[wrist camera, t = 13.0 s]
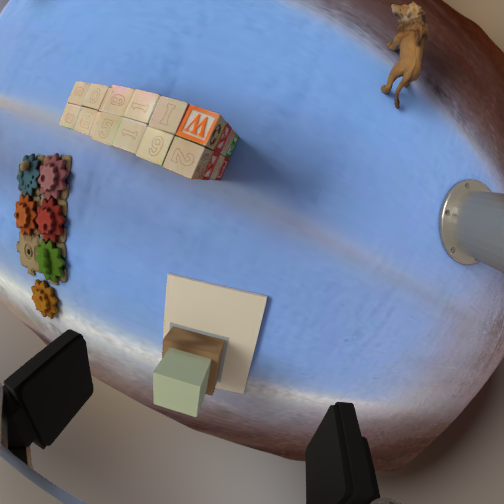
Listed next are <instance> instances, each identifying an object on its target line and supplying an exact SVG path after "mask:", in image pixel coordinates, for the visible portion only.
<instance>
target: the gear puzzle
mask: <svg viewBox="0 0 504 504" xmlns="http://www.w3.org/2000/svg"><path fill="white" fill-rule="evenodd" d="M35 158H36V159H37V160H36V159H35ZM71 163H72V157H71V156H68V155H62V156H61V160H60V157H59V154H58V153H56V154H55V155H47V156H46V157H45V156H44V155H38V156H37V157H35V154H31V155H30V156H27V155H25V156H24V157H23V162H22V163H21V164H19V171H18V175H17V180H18V181H19V187H18V189H19V190H20V192H21V193H22V194H21V195H20V198H19V202H16V212H15V214H14V216H15V218H16V223H17V228H19V229H20V230H21V231H20V232H19V242H17V252H20V260H21V265H22V266H25V267H27V268H28V273H29V274H31V275H33V276H34V275H35V271H37V272H41V273H42V274H44V276H45V278H46V280H49V279H50V283H52V284H54V285H58V284H59V283H58V280H60V281H62V282H65V281H67V269H66V268H65V269H63V268H62V266H64V265H65V263H66V262H65V261H64V260H63V259H62V257H64V258H65V257H66V245H65V243H64V242H65V241H66V228H62V224H64V222H65V221H66V219H65V218H64V217H63V216H62V214H63V215H64V216H67V201H66V199H67V197H68V192H69V184H66V183H65V179H66V178H67V177H68V175H69V172H68V171H71ZM41 194H42V196H43V197H42V198H41V197H40V195H41ZM39 235H41V236H42V237H41V238H40V236H39ZM29 249H30V252H29ZM46 280H43V281H42V282H40V281H39V280H38V279H37V280H36V281H35V286H32V287H31V289H32V292H33V296H32V300H33V301H34V303H35V305H36V309H37V310H39V311H40V312H41V313H42V315H43V317H46V316H48V317H50V318H51V319H52V318H54V313H57V312H58V309H57V307H56V305H55V304H56V303H57V302H58V299H57V298H56V297H55V296H53V287H48V286H47V282H46Z"/></svg>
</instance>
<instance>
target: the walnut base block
mask: <svg viewBox="0 0 504 504" xmlns="http://www.w3.org/2000/svg"><path fill="white" fill-rule="evenodd" d="M224 342H225V340H223V339H219V338H215V337H211V336H207V335H203V334H200V333H196V332H192V331H188V330H185V329H181V328H178V327H174V326H173V327H172V328H171V329H170V331H169V332H168V333H167V335H166V336H165V337H164V339H163V352H162V358H163V357H164V355H165V354H166V352H167V351H168V349H169V348H170V347H171V348H174V349H178V350H181V351H184V352H188V353H191V354H195V355H199V356H202V357H206V358H210V359H211V366H210V372H209V379H208V385H207V390H206V393H205V394H208V395H213V392H214V389H215V386H216V383H217V380H218V375H219V370H220V364H221V358H222V353H223V347H224Z"/></svg>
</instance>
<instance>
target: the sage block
mask: <svg viewBox="0 0 504 504" xmlns="http://www.w3.org/2000/svg"><path fill="white" fill-rule="evenodd" d="M210 366H211V359H210V358H206V357H202V356H199V355H195V354H191V353H188V352H184V351H181V350H178V349H174V348H171V347H170V348H169V349H168V351H167V352H166V354H165V355H164V357H163V358H162V360H161V361H160V363H159V364H158V366H157V367H156V369H155V370H154V372H153V389H154V404H156V405H159V406H162V407H165V408H168V409H171V410H174V411H178V412H181V413H184V414H188V415H191V416H194V417H197V415H198V412H199V409H200V407H201V404H202V401H203V399H204V396H205V393H206V390H207V385H208V379H209V372H210Z"/></svg>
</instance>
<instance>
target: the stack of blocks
mask: <svg viewBox="0 0 504 504" xmlns="http://www.w3.org/2000/svg"><path fill="white" fill-rule="evenodd" d="M59 125H60V126H63V127H67V128H70V129H73V130H75V131H77V132H80V133H83V134H86V135H89V136H92V138H91V139H93V140H95V141H98V142H101V143H104V144H107V145H110V146H114V147H117V148H120V149H123V150H126V151H128V152H131V153H134V154H136V156H137V157H140V158H143V159H145V160H148V161H150V162H153V163H155V164H157V165H160V166H163V167H164V168H166V169H168V170H171V171H173V172H175V173H178V174H180V175H182V176H185V177H187V178H190V179H201V180H211V179H212V180H220V179H221V177H222V175H223V173H224V170H225V168H226V166H227V164H228V162H229V159H230V156H231V154H232V152H233V150H234V148H235V146H236V144H237V141H238V139H239V136H238V135H237V134H236V133H235V132H234V131H233V130H232V128H231V126H230V125H229V124H228V123H227V122H226V121H225V120H224V119H223V117H222V116H221V115H220V114H218V113H215V112H212V111H209V110H206V109H203V108H200V107H197V106H194V105H190V104H188V103H186V102H183V101H179V100H176V99H172V98H168V97H164V96H161V95H159V94H156V93H151V92H148V91H143V90H139V89H136V90H135V89H133V88H128V87H123V86H118V85H112V87H110V86H106V85H101V84H96V83H92V84H91V83H86V82H81V81H76V83H75V86H74V88H73V90H72V92H71V95H70V97H69V99H68V103H67V105H66V108H65V110H64V113H63V116H62V118H61V121H60V124H59Z"/></svg>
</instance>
